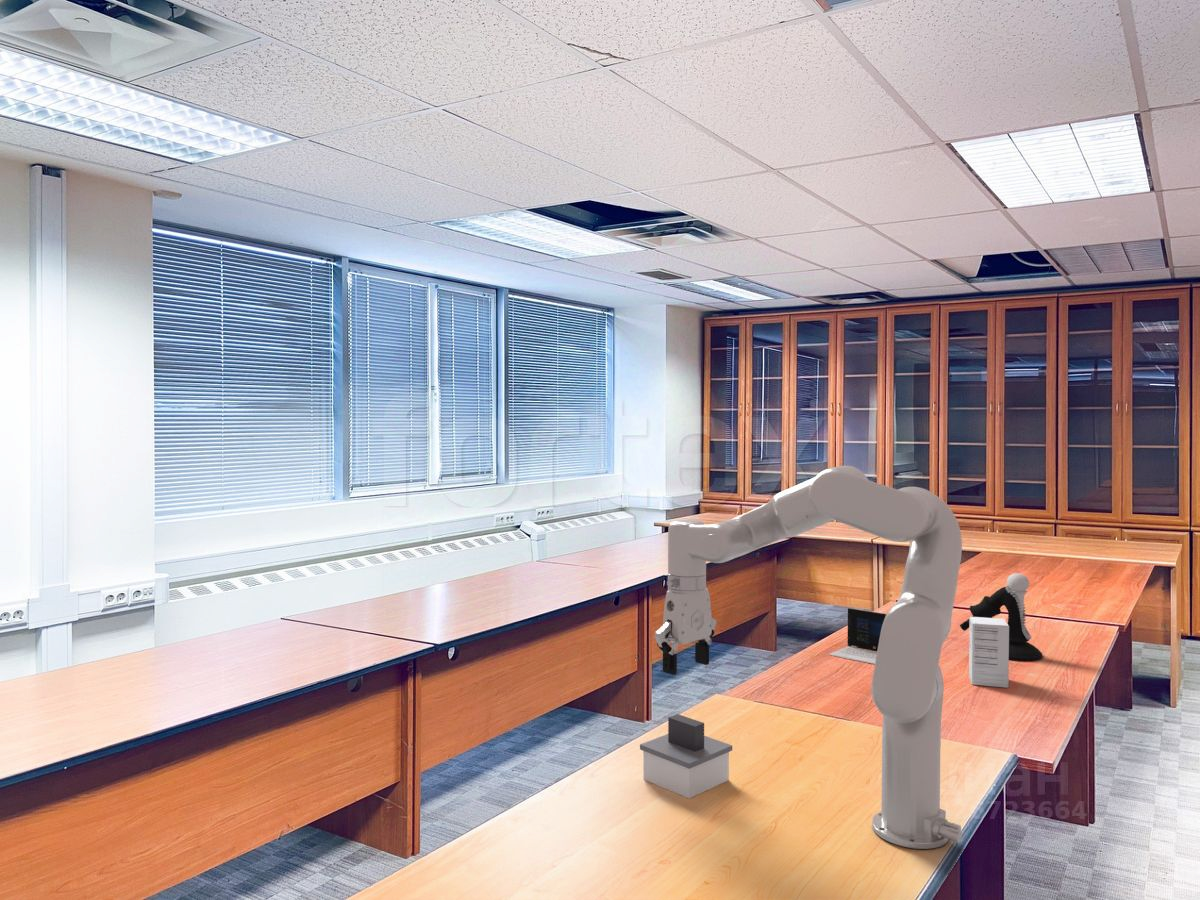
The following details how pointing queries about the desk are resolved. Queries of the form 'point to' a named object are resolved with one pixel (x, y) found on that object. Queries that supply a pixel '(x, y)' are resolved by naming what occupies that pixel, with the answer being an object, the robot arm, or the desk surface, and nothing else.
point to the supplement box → (989, 652)
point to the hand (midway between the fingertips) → (686, 668)
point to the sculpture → (1010, 616)
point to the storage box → (686, 774)
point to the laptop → (862, 636)
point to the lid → (685, 743)
